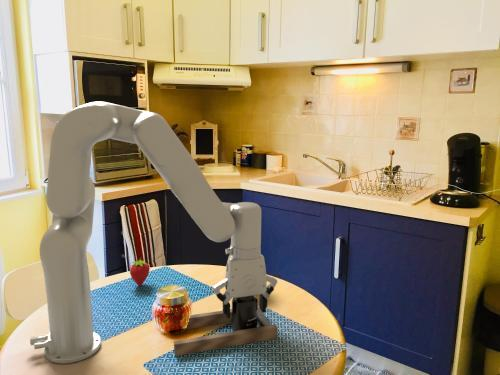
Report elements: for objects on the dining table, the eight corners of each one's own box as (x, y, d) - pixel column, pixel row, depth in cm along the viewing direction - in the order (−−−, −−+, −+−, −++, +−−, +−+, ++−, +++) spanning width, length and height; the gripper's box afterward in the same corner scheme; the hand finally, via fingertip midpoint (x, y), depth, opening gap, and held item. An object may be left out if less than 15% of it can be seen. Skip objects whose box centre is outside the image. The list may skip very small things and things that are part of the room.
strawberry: (153, 281, 141) (152, 252, 139) (145, 291, 133) (144, 261, 131) (135, 280, 141) (134, 251, 139) (127, 290, 134) (125, 260, 132)
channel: (175, 355, 101) (174, 344, 100) (168, 328, 112) (167, 318, 111) (277, 338, 109) (277, 327, 108) (260, 314, 120) (261, 304, 119)
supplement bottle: (254, 338, 108) (255, 294, 106) (228, 335, 110) (228, 292, 107) (259, 324, 115) (260, 283, 112) (234, 321, 116) (235, 280, 114)
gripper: (216, 260, 102) (216, 325, 105) (283, 252, 107) (281, 315, 110) (209, 249, 108) (209, 311, 112) (272, 243, 114) (270, 302, 117)
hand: (245, 313), depth 111 cm, fingers open, 9 cm apart
